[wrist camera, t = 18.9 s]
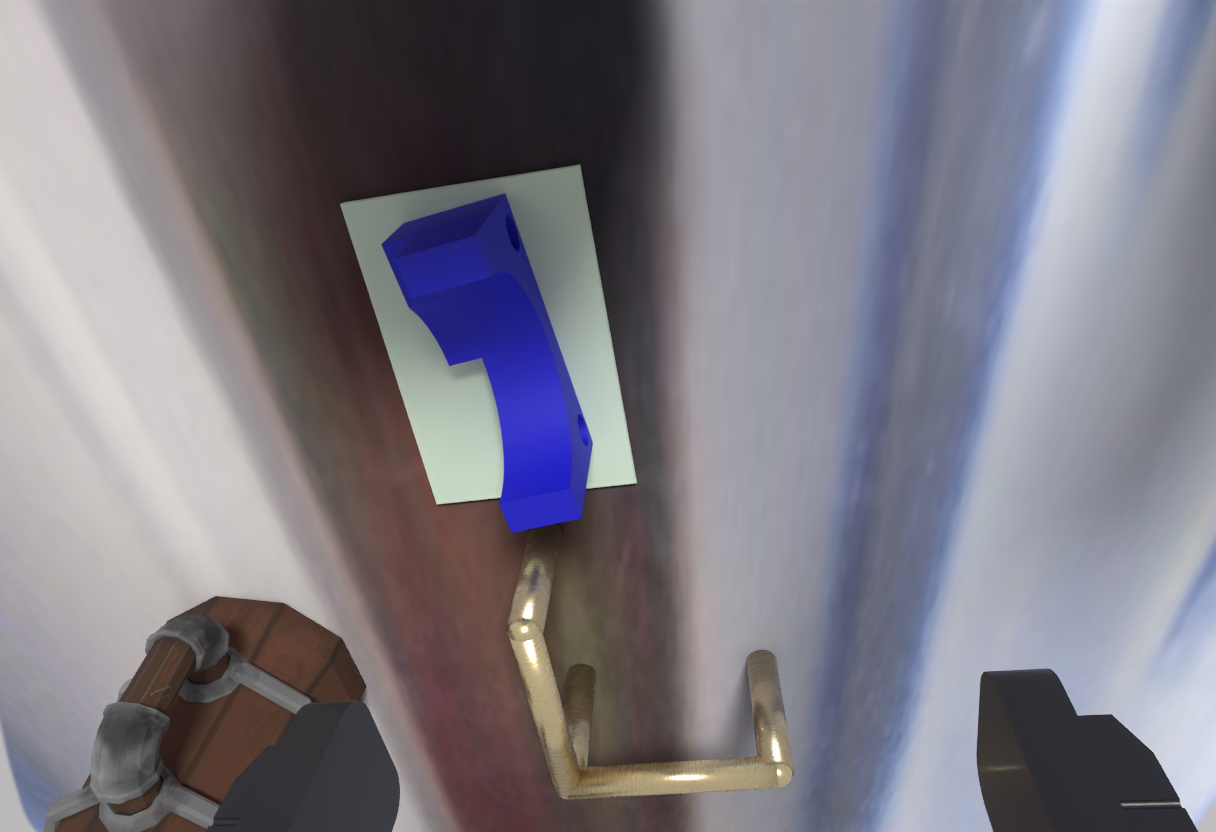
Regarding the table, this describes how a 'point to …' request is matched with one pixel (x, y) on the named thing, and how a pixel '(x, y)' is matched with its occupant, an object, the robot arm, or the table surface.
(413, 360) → the pad
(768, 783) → the wire track
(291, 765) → the robot arm
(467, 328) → the cable clip
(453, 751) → the table surface
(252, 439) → the table surface
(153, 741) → the mug
